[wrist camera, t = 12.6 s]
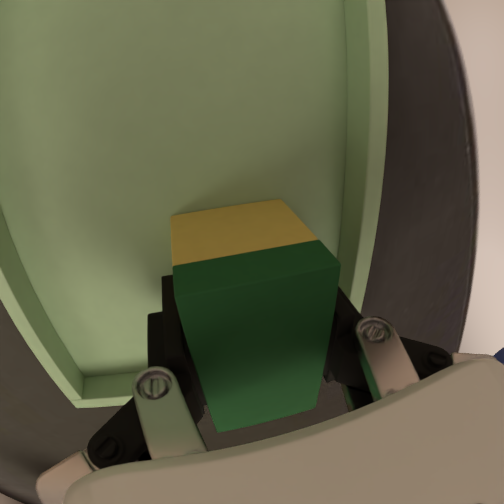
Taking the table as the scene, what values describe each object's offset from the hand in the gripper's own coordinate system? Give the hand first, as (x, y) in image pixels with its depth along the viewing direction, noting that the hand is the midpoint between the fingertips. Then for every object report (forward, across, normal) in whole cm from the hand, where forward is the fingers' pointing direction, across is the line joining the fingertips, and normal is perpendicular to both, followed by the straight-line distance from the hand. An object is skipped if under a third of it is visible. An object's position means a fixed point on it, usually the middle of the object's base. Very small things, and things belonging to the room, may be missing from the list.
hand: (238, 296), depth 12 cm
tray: (+1, +2, -5) cm, 5 cm away
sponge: (+1, 0, 0) cm, 1 cm away
